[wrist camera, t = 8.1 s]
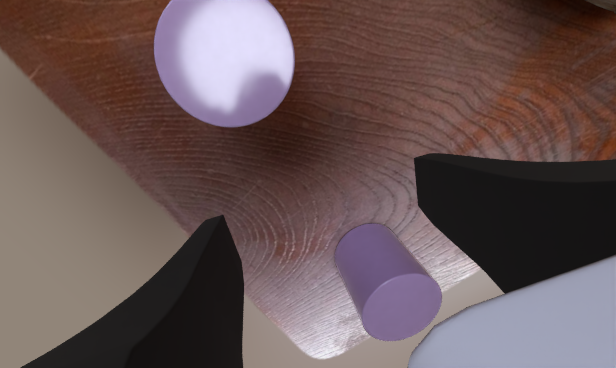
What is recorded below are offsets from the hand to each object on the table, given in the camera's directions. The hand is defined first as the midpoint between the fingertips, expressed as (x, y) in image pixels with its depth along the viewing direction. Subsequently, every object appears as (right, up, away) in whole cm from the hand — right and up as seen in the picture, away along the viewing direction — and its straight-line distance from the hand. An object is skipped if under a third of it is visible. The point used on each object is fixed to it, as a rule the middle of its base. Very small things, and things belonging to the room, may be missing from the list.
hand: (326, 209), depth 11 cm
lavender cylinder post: (-5, +8, +6) cm, 11 cm away
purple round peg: (+4, -4, +13) cm, 14 cm away
